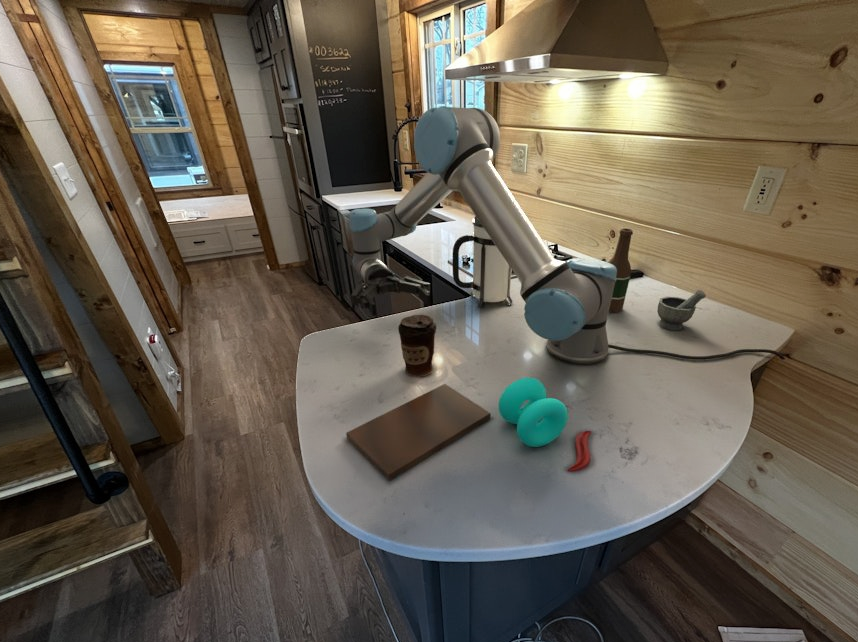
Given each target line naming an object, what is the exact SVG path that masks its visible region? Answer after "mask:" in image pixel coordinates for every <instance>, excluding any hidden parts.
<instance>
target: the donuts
mask: <svg viewBox="0 0 858 642" xmlns="http://www.w3.org/2000/svg"><path fill="white" fill-rule="evenodd" d="M525 402H526V403H525ZM524 403H525V404H524ZM523 404H524V405H523ZM498 412H499V414H500V416H501V418H502V419H503V420H504V421H506V422H507V423H509V424H513V425H516V434H517V437H518V439H519V440H520V442H521V443H523V445H526V446H527V447H530V448H531V447H533V448H537V447H543V446H546V445H548V444H550V443H552V442H553V441H554V440H556V439H557V438H558V437H559V436H560V435H561V434H562V432H563V431H564V430H565V428H566V425H567V424H568V423H567V422H568V418H569V414H568V408H567V407H566V405H565V404H564V403H563V402H562V401H561V400H560V399H557V398H554V397H547V390H546V387H545V385H544V384H543V383H542V381H540V380H539V379H538V378H534V377H522V378H518V379H517V380H514V381H513V382H511V383H510V384H509V385H508V386H507V387H506V388H505V389H504V390H503V392H502V393H501V395H500V398H499V401H498Z"/></svg>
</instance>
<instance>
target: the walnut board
mask: <svg viewBox="0 0 858 642" xmlns="http://www.w3.org/2000/svg"><path fill="white" fill-rule="evenodd" d="M489 420H491V412H490V411H488V410H486V409H485V408H484V407H482V406H480V404H477V403H475V402H474V401H473V400H471V399H470V398H468V397H466V396H465V395H463V394H462V393H461V392H458V391H457V390H455V389H454V388H452V387H451V386H449V385H447V383H444V384H441V385H439V386H437V387H436V388H433V389H431V390H430V391H427V392H425V393H424V394H422V395H419V396H417V397H415V398H413V399H411V400H409V401H407V402H405V403H403V404H402V405H399V406H397V407H395V408H393V409H391V410H389V411H387V412H385V413H382V414H380V415H379V416H377V417H375V418H373V419H371V420H369V421H367V422H365V423H363V424H361V425H359V426H357V427H355V428H353V429H351V430H348V431H347V432H345V434H346V439H347V440H348V441H349V442H350V443H351V444H352V445H353V447H355V449H356V450H358V451H359V452H360V453H361V454H362V455H363V457H365V458H366V460H368V461H369V462H370V463H371V464H372V465H373V466H374V467H375V468H376V469H377V470H378V471H379V472H380V473H381V474H382V475H383V477H385V478H386V479H387V480H388V481H392V480H393V479H395V478H396V477H399V476H400V475H401V474H404V473H405V472H407V471H408V470H410V469H411V468H413V467H415V466H416V465H418V464H419V463H422V462H423V461H424V460H426V459H427V458H430V457H431V456H432V455H434V454H436V453H437V452H439V451H441V450H442V449H444V448H445V447H447V446H448V445H450V444H451V443H453V442H455V441H457V440H458V439H461V438H462V437H463V436H465V435H467V434H468V433H469V432H471V431H474V430H475V429H477V428H479V426H481V425H483V424H484V423H486V422H488V421H489Z"/></svg>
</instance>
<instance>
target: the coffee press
mask: <svg viewBox="0 0 858 642" xmlns="http://www.w3.org/2000/svg"><path fill="white" fill-rule="evenodd" d="M472 225H473V233H472V235H468V234H466V235H462V236H460V237H458V238H457V239H456V240H455V242H454V244H453V247H452V278H453V281H454V283H455V285H456V286H457V287H459V288H462V289H472V291H471V292H470V297H471V298H472V297H474V298H475V299H477V300H478V303H477V307H478V308H480V309H483V308H484V306H485V305H486V303H499V302H504V303H505V305H506V306H511V305H512V304H513V299H512V298H511V286H512V285H511V284H512V272H513V270H512V269H511V267H510V266H509V264H508V263H507V262H506V260H505V259H504V257H503V256H502V254H501V253H500V251H499V250H498V248H497V247H496V245H495V244H494V242H493V241H492V239H491V238H490V236H489V235H488V233H487V232H486V230H485V229H484V227H483V226H482V224H481V223H480V221H479V220H478V219H477V217H476V216H474V218H473V219H472ZM468 242H473V248H472V249H473V254H472V256H473V257H472V280H471V281H468V282H467V281H466V282H465V281H462V280H460V279H461V278H460V249H461V246H462V245H463V244H465V243H468Z"/></svg>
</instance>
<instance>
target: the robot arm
mask: <svg viewBox="0 0 858 642" xmlns="http://www.w3.org/2000/svg"><path fill="white" fill-rule="evenodd" d="M413 138H414V142H413V149H414V154H415V159H416V161H417V163H418V164H419V167H420V168H422V170H423V171H425V172H426V173H425V174H424V175H423V176H422V178H421V179H420V180H419V181H418V182H417V183H415V184H414V186H413V187H412V188H411V189H410V190H409V191H408V192H407V193H406V194H405V195H404V196H403V197H402V198H401V200H399V202H398V203H397V204H396V205H395V206H394V207H393V208H392V209H391V210H389V211H386V212H382V213H377V211H376V210H375V209H372V208H356V209H353V210H351V211H350V212H349V215H348V219H349V220H348V221H349V230H350V235H351V242H352V247H353V248H352V249H353V257H352V266H353V269H354V271H355V272H356V274H357V275H358V276H359V277H360V279H361V280H362V281H357V282H356V284H357V285H356V287H355V288H354V290H353V292H352V293H351V295H350V297H351V303H352V306H358V305H360V308H361V309H368V311H369V313H370V314H371V315H372V316H373V317H376V316H377V312H376V311H377V309H376V304H375V302H374V301H373V299H374V298H375V297H378V296H380V295H385V294H388V293H397V294H400V293H406V294H411V295H415V296H416V295H417V296H418V298H419V299H420V300H421V301H422V302H423V304H425V305H426V306H427V307H431V306H432V305H431V283H429V282H426V281H422V280H419V279H416V278H412V277H410V276H408V275H405V274H404V275H402V278H398V277H395V275H394V273H393V271H392V270H390V268H389V267H387V265H386V264H385V263H384V262H383V261H382V257H381V244H380V243H382V242H386V241H390V240H394V239H396V238H401V237H406V236H409V235H410V234H412V233H414V232H415V231H416V229H417V226H418V223H419V222H420V221H422V219H423V218H425V217H426V216H427V215H428V214H429V213H430V212H431V211H432V210H434V209H435V208H436V206H438V205H439V204H440V203H441V202H442V201H443V200H445V198H447V197H448V196H449V195H450V194H452V192H453V191H454V192H459V194H460V195H461V196H462V199H464V201H465V203H466V204H467V205H468V207H469V209H470V210H471V211H472V213H473V214H474V215H475V216H476V217H477V219H478V220H479V221H480V223H481V224H482V226H483V227H484V229H485V230H486V232H487V233H488V235H489V236H490V238H491V239H492V241H493V242H494V244H495V245H496V247H497V248H498V250H499V251H500V253H501V254H502V256H503V257H504V259H505V260H506V262H507V263H508V264H509V266H510V267H511V269H512V272H513V274H514V275H515V277H516V278H517V279H518V281H519V282H520V292H519V295H520V297H521V298H522V300H523V301H524V303H525V304H524V307H523V308H524V314H523V315H524V316H523V317H524V320H525V322H526V324H527V326H528V327H529V329H530V330H531V331H532V332H533V333H534V334H535V335H537V336H538V337H540V338H542V339H545V340H547V342H546V349H547V351H548V352H549V353H550V354H551V355H552V356H553V357H554V358H556V359H559V360H560V361H563V362H565V363H570V364H575V365H592V364H597V363H600V362H602V361H603V360H605V359H606V358H607V356H608V352H609V349H614V350H619V351H623V352H628V353H637V354H638V353H639V354H651V355H652V354H653V355H661V356H668V357H673V358H677V359H678V358H679V359H685V360H692V361H693V360H695V361H696V360H697V361H699V360H700V361H701V360H703V361H704V360H713V359H720V358H726V357H731V356H734V355H737V354H742V353H765V354H766V353H767V354H771V355H775V356H777V357H778V358H779V359H781V360H783V361H785V360H786V358H785V356H784V355H783V354H782V353H780V352H779V351H776V350H773V349H766V348H765V349H764V348H741V349H737V350H733V351H729V352H725V353H719V354H712V355H702V356H701V355H699V356H697V355H686V354H679V353H673V352H669V351H662V350H654V349H653V350H652V349H641V348H639V349H638V348H630V347H629V348H628V347H623V346H619V345H614V344H610V343H609V340H608V333H607V321H608V317H609V313H610V312H609V308H610V304H611V299H612V295H613V290H614V286H615V282H616V275H617V269H616V267H615V266H614V265H612V264H610V263H608V261H603V260H599V259H592V258H583V257H574V258H569V259H568V260H566V261H564V260H560V259H557V258H555V256H554V255H553V254H552V252H551V251H550V249H549V248H548V246H547V244H546V243H545V242H544V240H543V239H542V237H541V235H540V234H539V233H538V231H537V230H536V228H535V227H534V225H533V224H532V222H531V221H530V219H529V218H528V216H527V215H526V213H525V212H524V210H523V209H522V207H521V206H520V204H519V203H518V201H517V199H516V198H515V197H514V195H513V194H512V192H511V191H510V189H509V188H508V187H507V185H506V183H505V182H504V180H503V178H502V177H501V176H500V174H499V173H498V171H497V170H496V168H495V167H494V165H493V161H494V159H495V158H496V156H497V154H498V152H499V150H500V146H501V145H500V144H501V132H500V128H499V125H498V123H497V121H496V119H495V118H494V117H493V116H492V114H490V113H489V112H487V111H486V110H485V109H482V108H479V107H456V106H445V105H441V106H438V107H432V108H429V109H427V110H425V111H424V112H423V113H422V115H421V116H420V118H419V119H418V121H417V123H416V126H415V129H414V134H413ZM475 216H474V217H475Z"/></svg>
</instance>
